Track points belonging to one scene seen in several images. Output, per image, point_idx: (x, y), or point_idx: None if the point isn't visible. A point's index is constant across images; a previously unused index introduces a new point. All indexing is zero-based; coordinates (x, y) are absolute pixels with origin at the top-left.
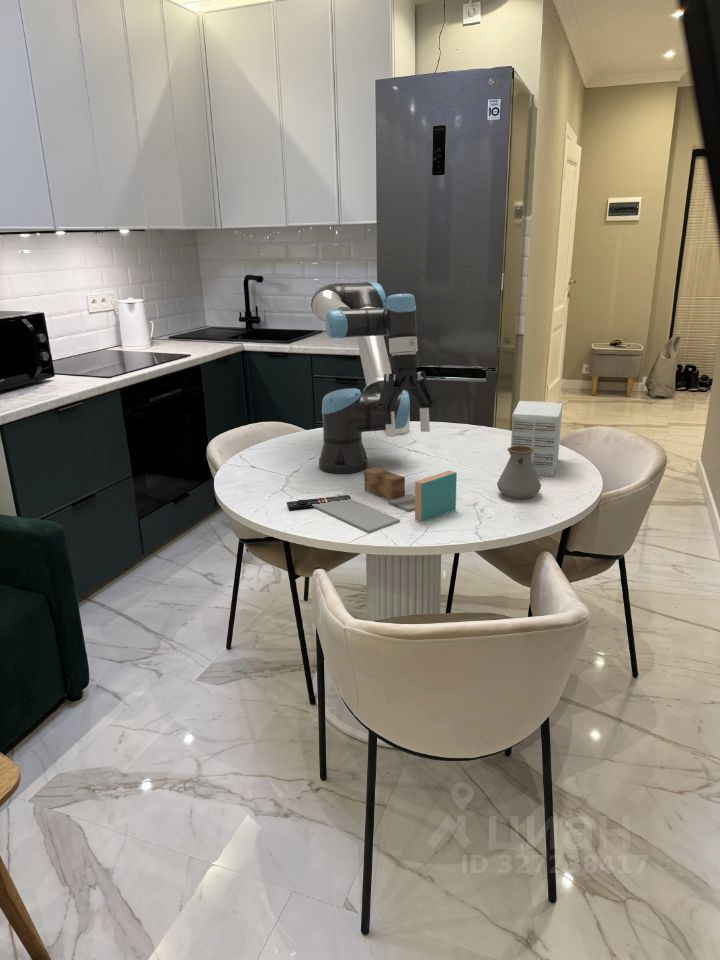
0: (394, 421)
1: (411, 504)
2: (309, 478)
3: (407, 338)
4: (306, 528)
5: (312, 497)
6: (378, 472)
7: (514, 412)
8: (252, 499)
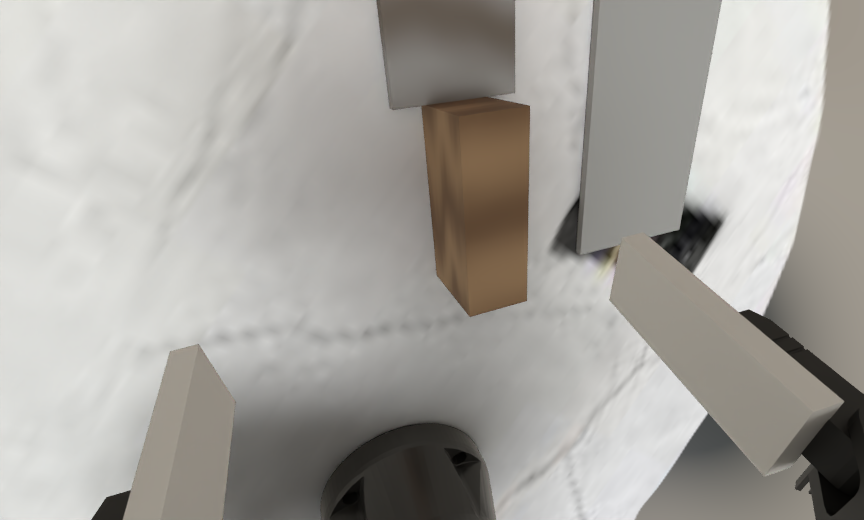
0: (720, 323)
1: None
2: (541, 420)
3: None
4: (788, 71)
5: None
6: (504, 247)
7: None
8: None
